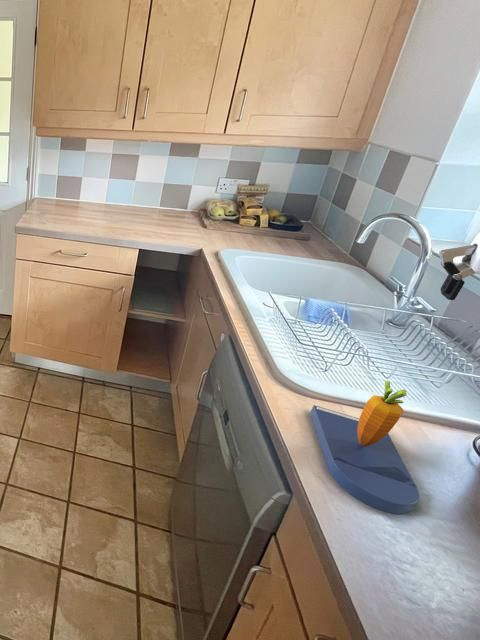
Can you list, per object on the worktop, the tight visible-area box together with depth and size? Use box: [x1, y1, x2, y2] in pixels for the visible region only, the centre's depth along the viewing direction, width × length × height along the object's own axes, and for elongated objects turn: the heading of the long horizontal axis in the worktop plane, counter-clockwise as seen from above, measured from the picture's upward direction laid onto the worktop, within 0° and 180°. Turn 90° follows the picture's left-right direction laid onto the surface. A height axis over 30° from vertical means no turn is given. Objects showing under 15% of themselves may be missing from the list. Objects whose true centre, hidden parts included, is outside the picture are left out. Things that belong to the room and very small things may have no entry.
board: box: [309, 404, 420, 515], centre depth 80 cm, size 12×22×3 cm, turn 153°
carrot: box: [357, 380, 408, 446], centre depth 78 cm, size 5×5×15 cm
